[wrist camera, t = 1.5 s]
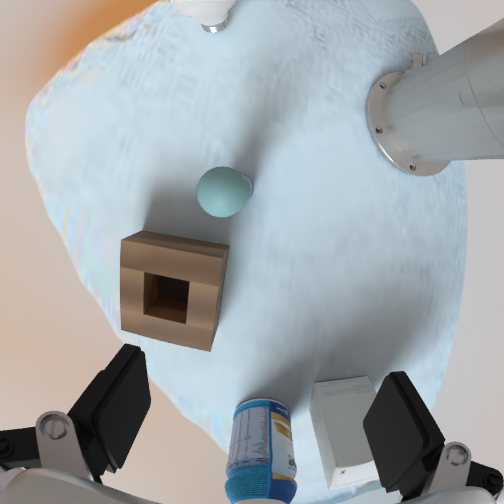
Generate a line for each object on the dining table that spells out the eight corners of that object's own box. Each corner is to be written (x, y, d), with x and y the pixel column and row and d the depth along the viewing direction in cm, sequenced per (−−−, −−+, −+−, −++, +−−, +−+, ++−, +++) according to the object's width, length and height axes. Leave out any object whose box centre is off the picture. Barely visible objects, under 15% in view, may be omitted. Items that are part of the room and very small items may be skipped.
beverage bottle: (241, 390, 34) (227, 522, 14) (299, 401, 34) (316, 526, 14) (227, 425, 36) (211, 537, 16) (279, 434, 36) (283, 543, 16)
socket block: (141, 230, 29) (121, 239, 24) (229, 245, 29) (222, 258, 24) (138, 310, 31) (121, 329, 26) (217, 328, 31) (210, 351, 26)
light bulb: (192, 55, 24) (161, 3, 13) (184, 16, 22) (156, -37, 12) (251, 41, 23) (246, -19, 13) (238, 3, 22) (229, -55, 11)
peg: (226, 172, 27) (201, 163, 15) (255, 176, 27) (251, 170, 15) (221, 201, 28) (193, 213, 16) (250, 205, 28) (242, 221, 16)
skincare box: (308, 408, 34) (322, 492, 20) (313, 379, 33) (332, 469, 18) (362, 402, 34) (391, 478, 20) (371, 372, 32) (409, 452, 18)
